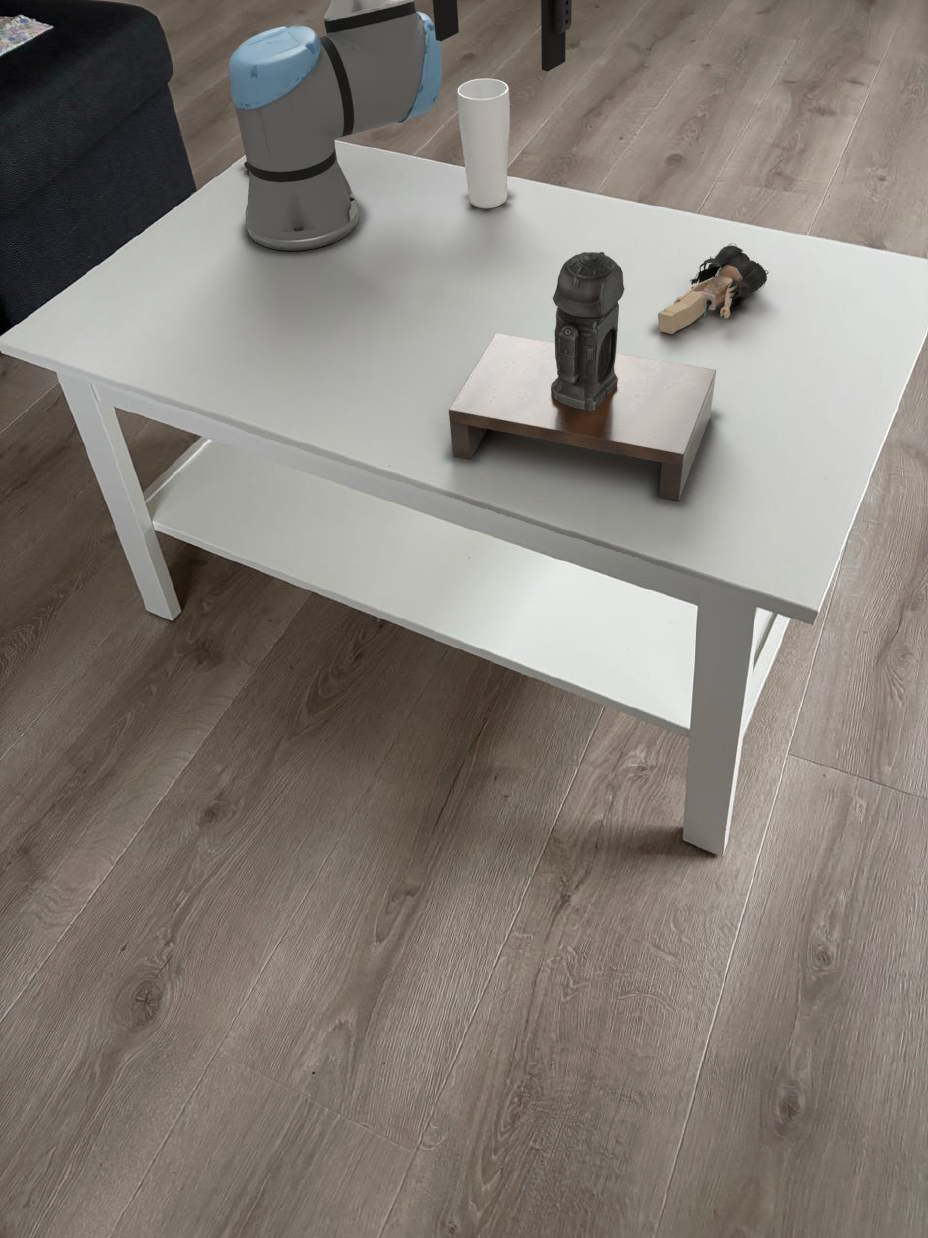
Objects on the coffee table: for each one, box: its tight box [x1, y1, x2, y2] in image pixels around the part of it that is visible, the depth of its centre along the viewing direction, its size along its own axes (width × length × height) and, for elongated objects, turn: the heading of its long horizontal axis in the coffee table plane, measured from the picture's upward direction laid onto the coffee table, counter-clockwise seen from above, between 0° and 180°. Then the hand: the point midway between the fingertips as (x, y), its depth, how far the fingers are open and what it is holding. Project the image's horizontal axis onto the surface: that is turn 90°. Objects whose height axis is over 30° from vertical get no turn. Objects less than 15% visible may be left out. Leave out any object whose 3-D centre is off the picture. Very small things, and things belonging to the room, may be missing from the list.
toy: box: [551, 251, 625, 411], centre depth 105 cm, size 8×6×15 cm
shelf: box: [448, 332, 717, 502], centre depth 112 cm, size 24×14×6 cm, turn 69°
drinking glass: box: [456, 77, 511, 209], centre depth 144 cm, size 7×7×15 cm
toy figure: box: [657, 242, 770, 335], centre depth 127 cm, size 7×6×15 cm
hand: (498, 50), depth 107 cm, fingers open, 13 cm apart
